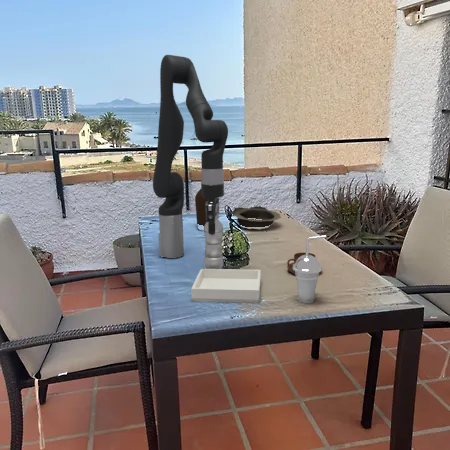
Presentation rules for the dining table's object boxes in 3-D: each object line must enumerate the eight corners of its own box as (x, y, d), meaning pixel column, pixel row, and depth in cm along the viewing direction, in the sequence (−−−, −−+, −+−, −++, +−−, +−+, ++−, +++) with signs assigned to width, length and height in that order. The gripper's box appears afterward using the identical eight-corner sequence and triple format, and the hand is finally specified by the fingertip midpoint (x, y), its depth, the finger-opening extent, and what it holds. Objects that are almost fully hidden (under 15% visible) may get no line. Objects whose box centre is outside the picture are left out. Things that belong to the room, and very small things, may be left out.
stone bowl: (234, 220, 232) (235, 204, 230) (280, 224, 229) (281, 208, 227) (228, 231, 209) (229, 212, 207) (279, 235, 206) (281, 217, 204)
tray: (191, 301, 128) (191, 288, 127) (201, 280, 145) (200, 268, 144) (259, 303, 126) (259, 290, 125) (260, 281, 143) (260, 269, 142)
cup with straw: (300, 292, 133) (302, 229, 128) (327, 299, 127) (330, 233, 123) (286, 301, 127) (287, 235, 122) (313, 308, 121) (316, 240, 116)
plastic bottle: (203, 266, 152) (202, 211, 147) (222, 265, 153) (222, 210, 148) (204, 272, 146) (203, 215, 141) (224, 272, 146) (223, 214, 142)
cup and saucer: (300, 280, 143) (301, 262, 142) (280, 270, 154) (280, 253, 152) (329, 274, 149) (329, 257, 147) (307, 264, 159) (307, 248, 158)
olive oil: (191, 229, 217) (189, 179, 211) (207, 225, 224) (206, 177, 218) (205, 232, 209) (204, 181, 203) (221, 228, 216) (220, 179, 211)
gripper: (204, 179, 149) (205, 226, 153) (197, 185, 136) (198, 236, 139) (226, 179, 149) (226, 226, 153) (221, 185, 135) (221, 236, 139)
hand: (213, 230), depth 146 cm, fingers closed on plastic bottle, 6 cm apart
